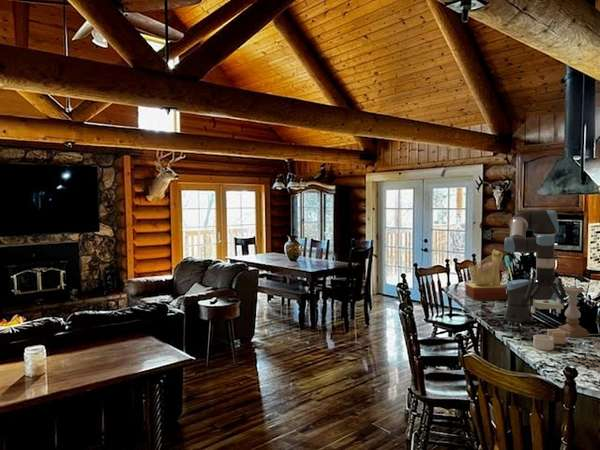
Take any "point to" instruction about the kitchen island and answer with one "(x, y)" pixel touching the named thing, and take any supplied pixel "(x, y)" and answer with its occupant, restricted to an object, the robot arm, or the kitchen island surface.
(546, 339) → the bowl
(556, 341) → the block
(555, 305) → the lid
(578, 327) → the candle holder
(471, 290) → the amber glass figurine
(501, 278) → the decorative skull
